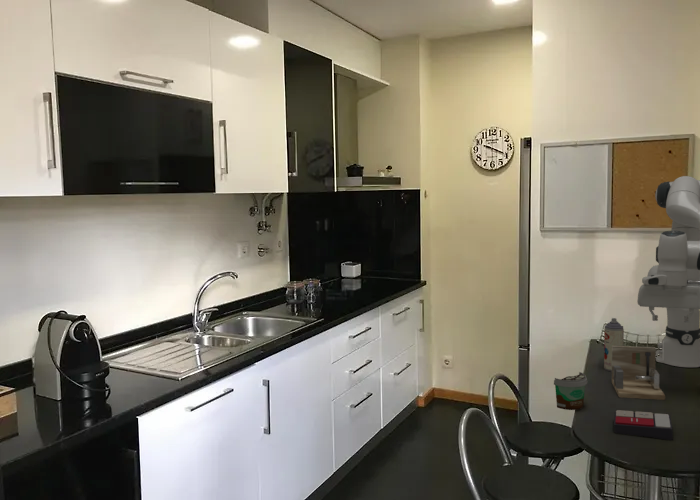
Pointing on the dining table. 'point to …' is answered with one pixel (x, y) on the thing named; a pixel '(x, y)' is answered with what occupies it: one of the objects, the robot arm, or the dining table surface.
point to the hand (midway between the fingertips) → (670, 321)
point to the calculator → (643, 424)
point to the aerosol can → (612, 341)
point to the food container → (570, 392)
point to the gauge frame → (633, 372)
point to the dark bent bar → (647, 363)
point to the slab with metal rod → (651, 378)
